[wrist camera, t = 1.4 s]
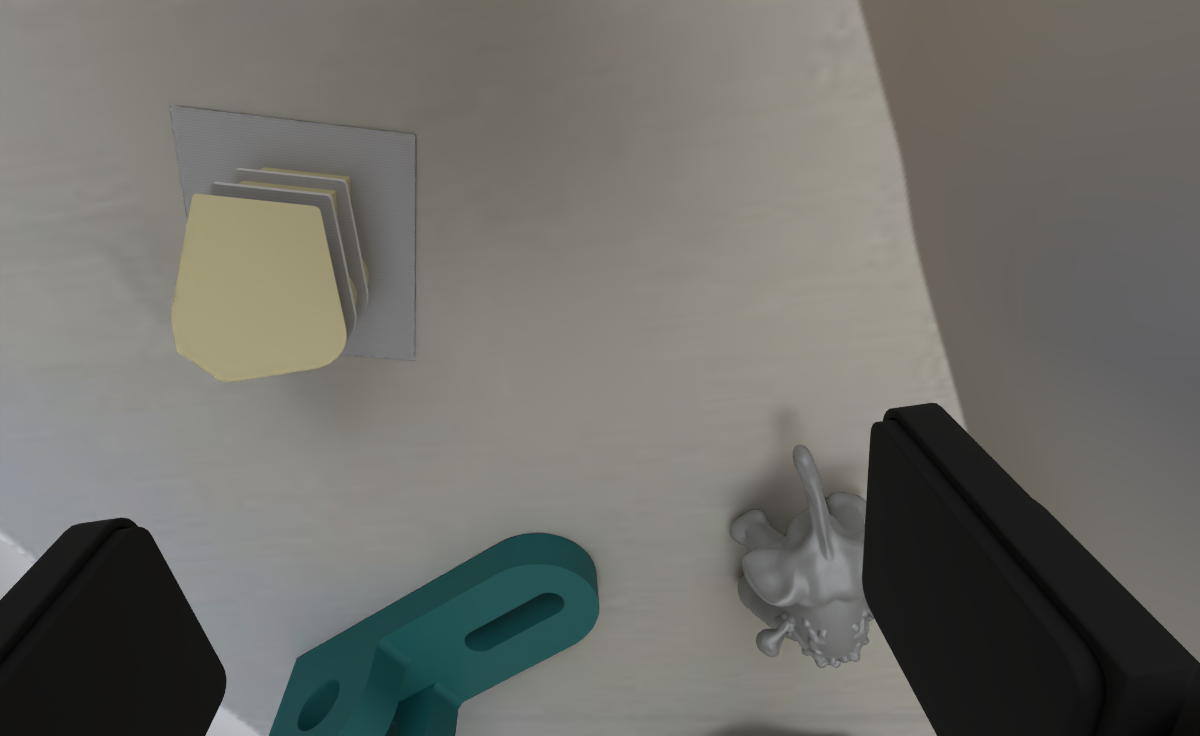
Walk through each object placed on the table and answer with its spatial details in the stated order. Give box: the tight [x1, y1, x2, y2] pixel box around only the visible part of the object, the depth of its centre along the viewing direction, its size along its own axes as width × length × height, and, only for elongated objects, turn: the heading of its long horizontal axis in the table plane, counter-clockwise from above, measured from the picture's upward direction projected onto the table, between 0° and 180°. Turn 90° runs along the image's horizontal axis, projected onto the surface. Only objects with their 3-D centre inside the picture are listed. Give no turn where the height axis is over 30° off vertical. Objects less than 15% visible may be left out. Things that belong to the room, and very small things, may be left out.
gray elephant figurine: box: [730, 445, 875, 668], centre depth 34 cm, size 9×12×8 cm
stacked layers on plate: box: [169, 105, 416, 382], centre depth 26 cm, size 10×9×6 cm
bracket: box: [269, 534, 599, 736], centre depth 37 cm, size 18×7×8 cm, turn 123°
